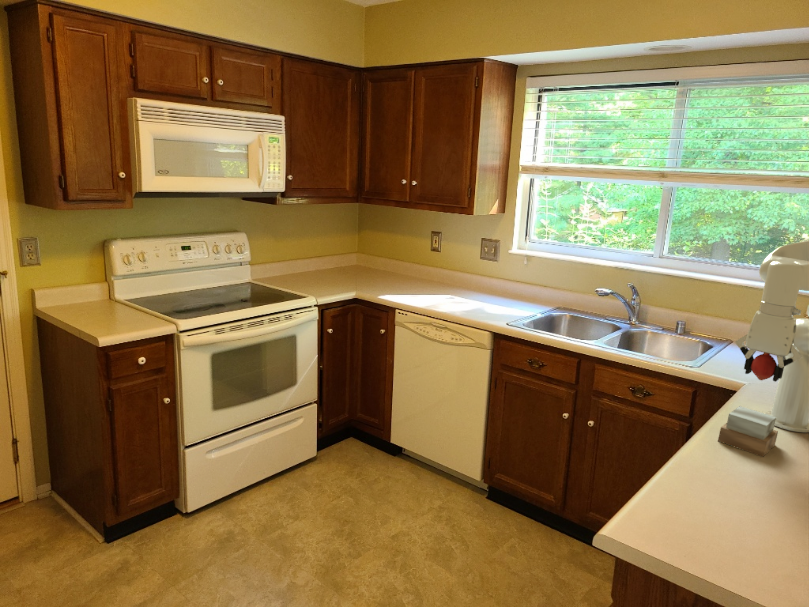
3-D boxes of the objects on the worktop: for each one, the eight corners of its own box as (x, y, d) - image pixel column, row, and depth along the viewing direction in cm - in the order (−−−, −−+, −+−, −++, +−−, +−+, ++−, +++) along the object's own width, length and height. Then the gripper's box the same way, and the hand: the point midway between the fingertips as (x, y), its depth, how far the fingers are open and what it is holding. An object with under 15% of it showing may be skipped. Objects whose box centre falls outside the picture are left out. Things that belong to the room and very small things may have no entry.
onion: (765, 376, 162) (771, 348, 160) (778, 384, 156) (785, 355, 154) (743, 375, 161) (750, 346, 159) (756, 383, 156) (763, 354, 154)
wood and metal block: (731, 430, 170) (736, 403, 169) (774, 445, 163) (781, 417, 161) (717, 441, 163) (723, 413, 161) (763, 456, 155) (769, 428, 153)
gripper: (819, 315, 151) (803, 383, 155) (744, 300, 163) (731, 364, 167) (812, 319, 146) (795, 390, 150) (735, 304, 157) (721, 369, 162)
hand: (761, 375), depth 158 cm, fingers closed on onion, 5 cm apart
